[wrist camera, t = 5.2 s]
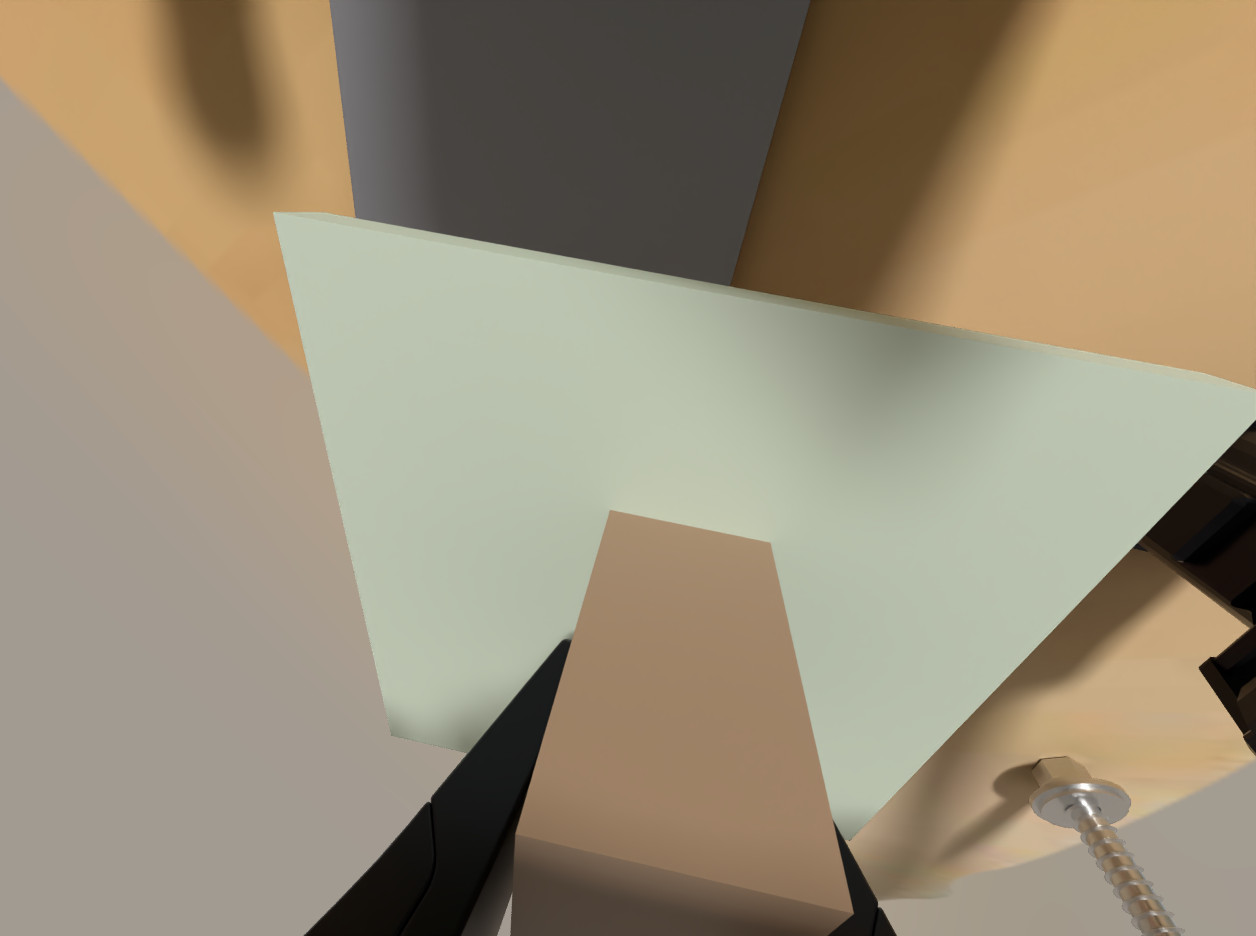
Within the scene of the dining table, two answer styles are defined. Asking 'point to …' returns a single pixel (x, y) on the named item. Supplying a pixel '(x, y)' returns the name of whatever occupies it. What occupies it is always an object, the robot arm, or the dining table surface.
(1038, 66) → the dining table surface
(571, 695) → the lid
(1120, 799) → the screw
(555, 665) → the robot arm
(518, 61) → the mat
